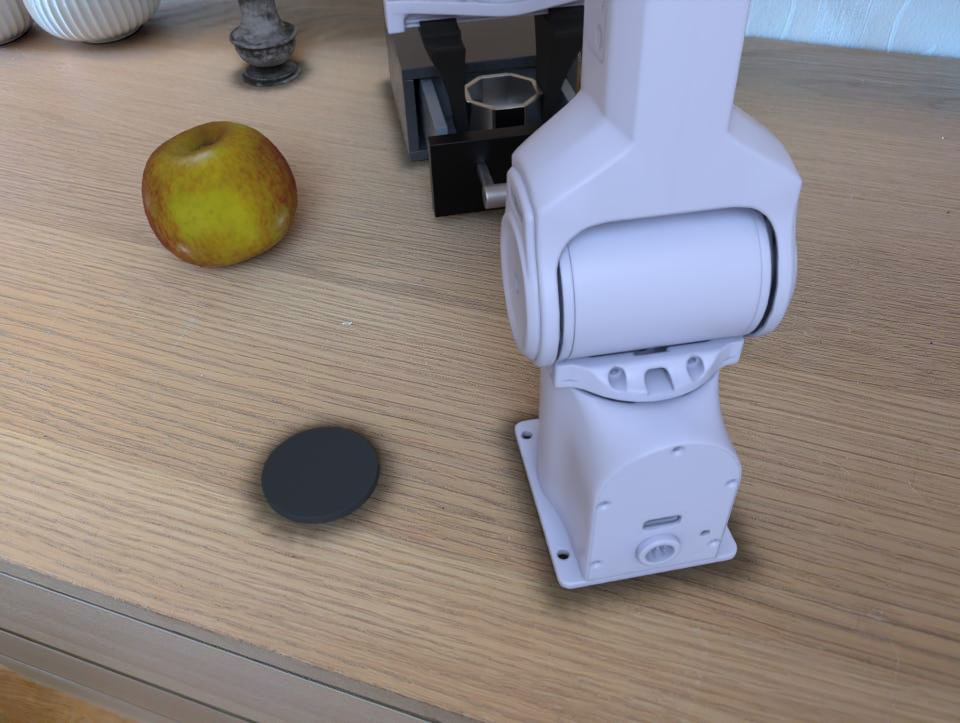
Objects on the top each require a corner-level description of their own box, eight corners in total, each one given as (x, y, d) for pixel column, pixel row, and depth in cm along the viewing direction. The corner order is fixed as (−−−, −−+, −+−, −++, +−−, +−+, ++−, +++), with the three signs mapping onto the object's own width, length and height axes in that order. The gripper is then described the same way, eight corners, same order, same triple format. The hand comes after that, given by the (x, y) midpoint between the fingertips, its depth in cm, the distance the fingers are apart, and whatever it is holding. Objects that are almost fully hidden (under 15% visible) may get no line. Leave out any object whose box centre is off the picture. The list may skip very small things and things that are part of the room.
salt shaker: (224, 81, 72) (187, -66, 64) (262, 55, 76) (231, -88, 68) (281, 92, 70) (250, -59, 62) (317, 64, 74) (292, -81, 66)
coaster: (384, 513, 38) (383, 506, 38) (262, 533, 37) (260, 527, 37) (373, 425, 42) (372, 418, 42) (263, 442, 41) (261, 435, 41)
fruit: (218, 197, 58) (188, 90, 53) (332, 219, 56) (312, 110, 50) (134, 276, 52) (89, 163, 46) (258, 305, 49) (226, 189, 44)
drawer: (621, 231, 52) (629, 157, 49) (445, 255, 51) (439, 180, 47) (555, 112, 64) (558, 45, 61) (411, 129, 63) (405, 61, 59)
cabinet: (573, 142, 63) (578, 50, 58) (410, 161, 61) (401, 69, 56) (532, 68, 72) (534, -16, 67) (390, 83, 71) (381, -1, 66)
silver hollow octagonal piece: (547, 166, 56) (549, 103, 53) (472, 175, 56) (470, 112, 52) (530, 130, 60) (530, 69, 57) (460, 138, 59) (457, 77, 56)
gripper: (602, -122, 51) (588, 87, 60) (368, -103, 49) (391, 109, 58) (639, -91, 46) (617, 132, 55) (379, -68, 44) (403, 158, 53)
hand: (502, 124), depth 56 cm, fingers closed on silver hollow octagonal piece, 5 cm apart
